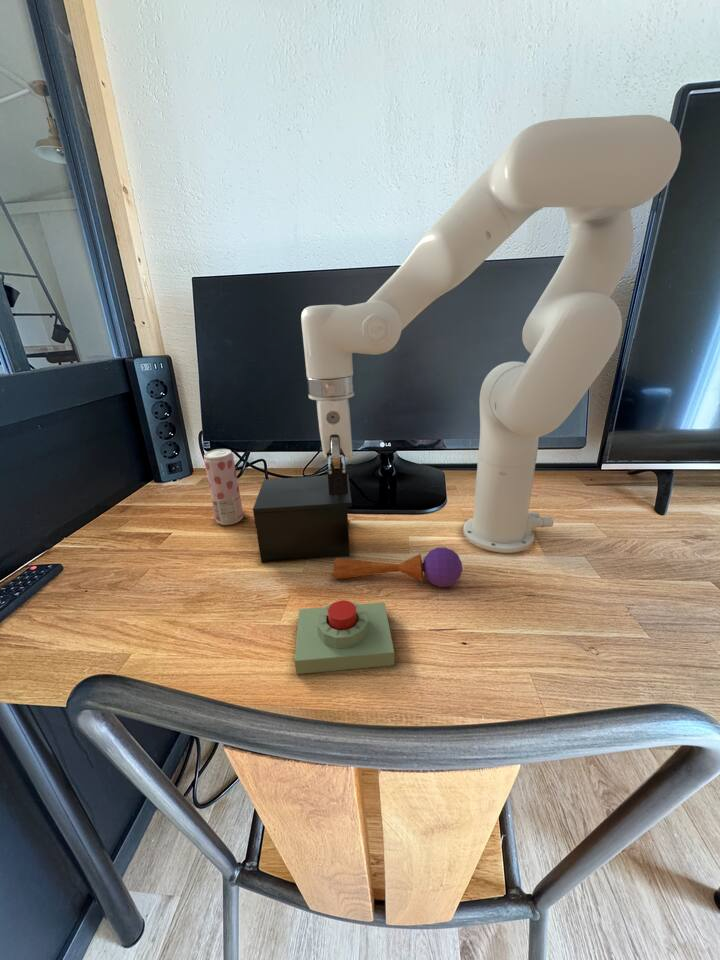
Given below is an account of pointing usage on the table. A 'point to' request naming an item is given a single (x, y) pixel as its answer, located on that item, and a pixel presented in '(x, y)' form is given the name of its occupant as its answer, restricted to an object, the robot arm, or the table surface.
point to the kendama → (408, 567)
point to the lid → (298, 495)
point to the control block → (343, 640)
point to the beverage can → (223, 486)
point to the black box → (302, 534)
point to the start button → (342, 615)
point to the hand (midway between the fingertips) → (338, 482)
